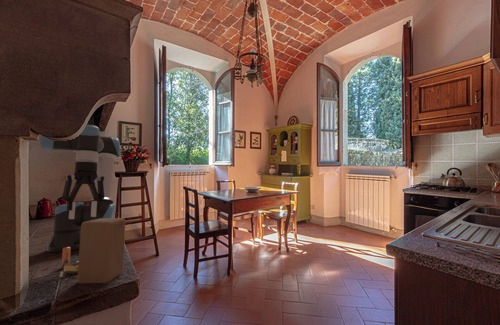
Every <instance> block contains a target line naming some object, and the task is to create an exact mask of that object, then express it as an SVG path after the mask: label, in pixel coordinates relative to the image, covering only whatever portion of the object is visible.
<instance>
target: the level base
mask: <svg viewBox="0 0 500 325" xmlns="http://www.w3.org/2000/svg"><path fill="white" fill-rule="evenodd" d="M73 276H78V273H72V274H65V273H64V269H62V270H61V271H60V273H59V274H58V276H57V277H56V279H59V278H66V277H73Z"/></svg>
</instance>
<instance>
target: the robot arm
mask: <svg viewBox="0 0 500 325" xmlns="http://www.w3.org/2000/svg"><path fill="white" fill-rule="evenodd" d="M85 125H86V127H85V129H84V130H83V132H82V133H81V134H80V135H79V136H78V137H76V138H75V139H72V140H67V141H54V140H50V139H48V138H45V137H43V136H41V135H40V139H39V141H40V146H41V148H42V149H44V150H51V151H52V150H53V151H55V150H56V151H72V152H74V153H76V154H75V161H76V162H75V166H74V173H73V174H67V175H65V176H64V178H65V179H64V180H65V183H64V186H63V187H64V188H63V190H62V195H61V200H62V202H63V201H64V202H66V204H60V205H57V206H56V207H55V211H54V214H53V216H54V219H53V220H54V221H53V232H52V237H51V238H50V240H49V242H48V245H47V249H46V252H48V253H63V248H64V247H71V251H75V250H79V248H80V234H81V224H82V223H83V222H86V221H90V220H95V219H100V218H115V214H116V210H117V204H116V203H114V200H113V199H112V189H113V188H112V186H113V180H114V179H113V178H114V166H115V161H117V160H118V159H119V158H118V157H120V156H121V142H120V139H119V138H118V137H114V136H103V135H102V136H101V133H100V128H99V127H98V126H97V125H92V124H85ZM73 180H75V182H74V186H73V188H72V184H73ZM83 185H87V186H88V187H89V189H90V193H91V195H92V198H91V199H89V201H88V203H87V204H85V202H83V201H80V202H79V201H78V202H76V201H75V199H76V196H77V195H78V193H79V190H80V189H81V187H82V186H83ZM71 188H72V190H71Z"/></svg>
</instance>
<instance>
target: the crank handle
mask: <svg viewBox="0 0 500 325" xmlns="http://www.w3.org/2000/svg"><path fill="white" fill-rule="evenodd" d="M71 251H72V250H71V247H64V248H63V252H61V253H62V254H61V268H63V270H64V273H65V274H72V273H78V262H79V259H78V260H73V261H72V262H71V253H72V252H71Z"/></svg>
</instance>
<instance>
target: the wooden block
mask: <svg viewBox="0 0 500 325" xmlns="http://www.w3.org/2000/svg"><path fill="white" fill-rule="evenodd" d="M125 236H126V219H125V218H123V217H116V218H115V217H114V218H100V219H95V220H90V221H86V222H83V223H82V224H81V234H80V248H79V249H78V260H79V262H78V275H76V277H77V280H76V283H77V284H105V283H109V282H111V281H113V280H114V279H115V278H116V277H118V276H120V275H121V274H122V273H123V272H124V255H125V254H124V253H125Z"/></svg>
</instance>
